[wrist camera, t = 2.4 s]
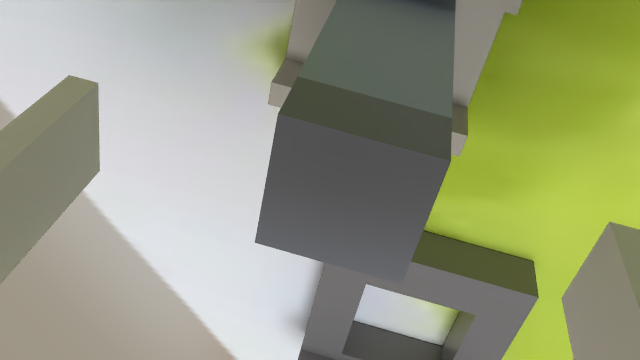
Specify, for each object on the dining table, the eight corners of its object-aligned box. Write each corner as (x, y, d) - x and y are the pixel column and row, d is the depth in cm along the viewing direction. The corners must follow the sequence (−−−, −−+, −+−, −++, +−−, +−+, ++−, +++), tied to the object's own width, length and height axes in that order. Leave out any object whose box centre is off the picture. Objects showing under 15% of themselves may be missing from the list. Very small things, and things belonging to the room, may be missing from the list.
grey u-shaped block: (317, -106, 23) (300, -89, 20) (526, -51, 22) (534, -28, 20) (283, 82, 28) (266, 114, 25) (456, 129, 27) (455, 166, 25)
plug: (354, -34, 23) (278, 113, 14) (456, -8, 23) (450, 161, 14) (333, 59, 26) (255, 242, 16) (424, 84, 26) (401, 284, 16)
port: (340, 207, 31) (315, 301, 26) (533, 261, 30) (548, 368, 25) (305, 333, 37) (278, 431, 31) (466, 380, 36) (467, 487, 31)
